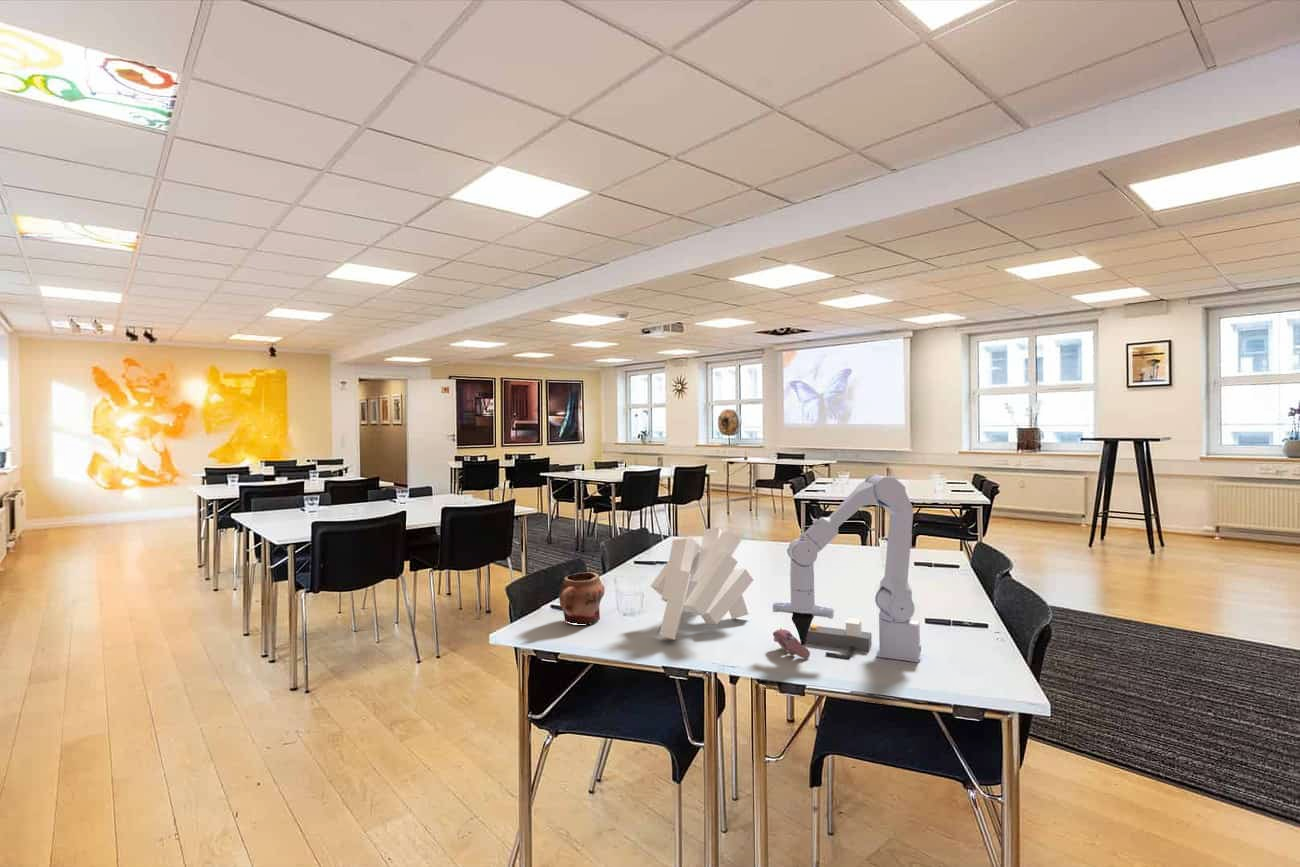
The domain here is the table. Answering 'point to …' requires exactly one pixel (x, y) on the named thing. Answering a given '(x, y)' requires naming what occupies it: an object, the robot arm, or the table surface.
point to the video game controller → (790, 643)
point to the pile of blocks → (702, 581)
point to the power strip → (841, 637)
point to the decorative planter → (581, 597)
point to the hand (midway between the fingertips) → (803, 643)
